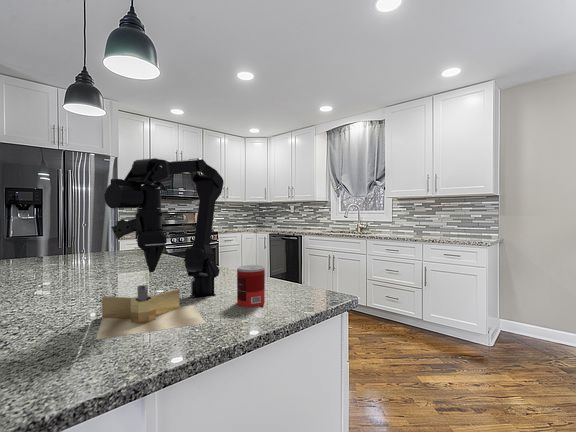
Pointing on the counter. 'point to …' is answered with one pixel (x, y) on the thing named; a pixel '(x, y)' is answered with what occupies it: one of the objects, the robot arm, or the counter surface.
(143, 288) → the pin
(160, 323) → the mounting board
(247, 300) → the canned food
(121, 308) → the spoked octagonal hub
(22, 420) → the counter surface
